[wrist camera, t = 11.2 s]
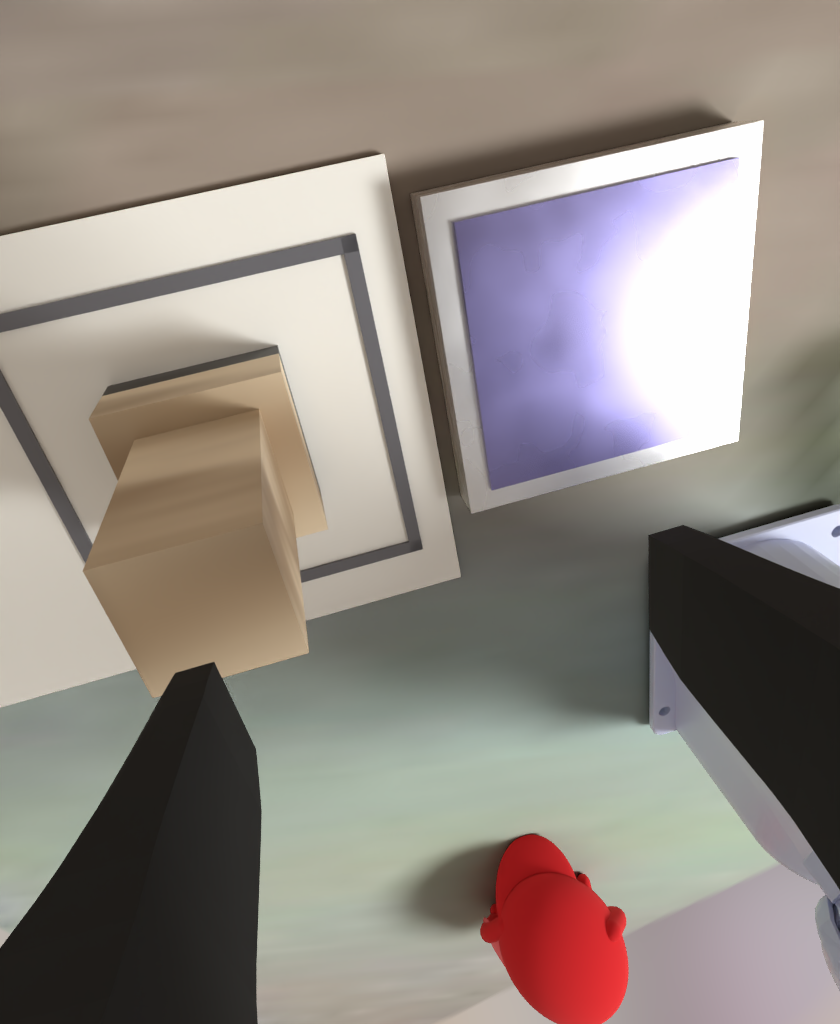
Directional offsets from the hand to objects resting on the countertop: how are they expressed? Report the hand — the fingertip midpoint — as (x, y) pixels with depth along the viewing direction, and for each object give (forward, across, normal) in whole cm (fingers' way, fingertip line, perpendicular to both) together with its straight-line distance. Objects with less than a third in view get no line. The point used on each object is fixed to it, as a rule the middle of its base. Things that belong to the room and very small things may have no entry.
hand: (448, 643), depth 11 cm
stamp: (+10, +4, -1) cm, 11 cm away
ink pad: (+10, -7, -1) cm, 12 cm away
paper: (+10, +6, 0) cm, 12 cm away
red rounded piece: (+10, -3, +26) cm, 28 cm away
